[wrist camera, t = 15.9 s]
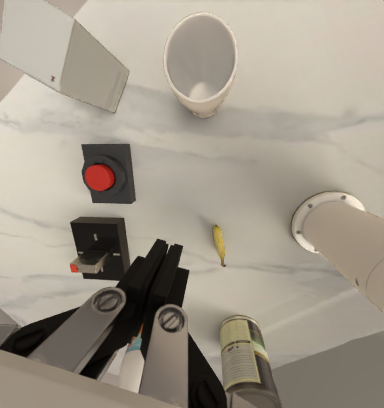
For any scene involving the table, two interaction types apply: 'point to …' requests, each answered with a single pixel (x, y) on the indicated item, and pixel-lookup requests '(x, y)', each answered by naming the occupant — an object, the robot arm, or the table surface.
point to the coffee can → (247, 363)
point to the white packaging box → (60, 53)
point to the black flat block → (103, 244)
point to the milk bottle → (132, 366)
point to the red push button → (99, 177)
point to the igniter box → (120, 165)
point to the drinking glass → (201, 62)
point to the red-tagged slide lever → (90, 261)
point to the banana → (219, 243)
